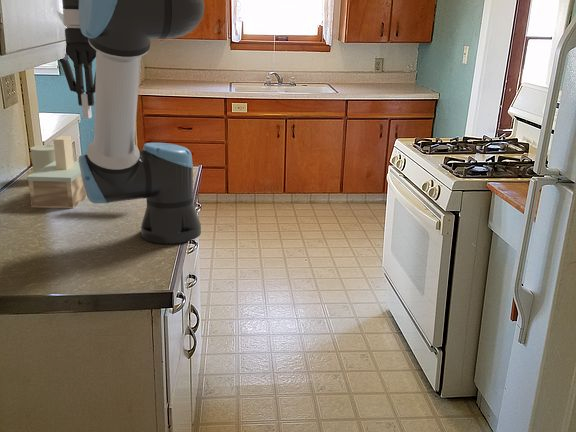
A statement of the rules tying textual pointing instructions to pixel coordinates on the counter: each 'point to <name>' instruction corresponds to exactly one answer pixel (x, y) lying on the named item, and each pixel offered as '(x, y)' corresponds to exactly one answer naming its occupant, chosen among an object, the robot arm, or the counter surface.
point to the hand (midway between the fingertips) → (87, 117)
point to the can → (42, 156)
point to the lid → (59, 164)
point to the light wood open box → (57, 193)
